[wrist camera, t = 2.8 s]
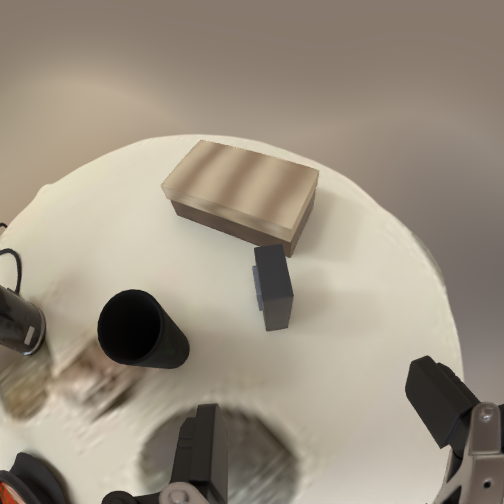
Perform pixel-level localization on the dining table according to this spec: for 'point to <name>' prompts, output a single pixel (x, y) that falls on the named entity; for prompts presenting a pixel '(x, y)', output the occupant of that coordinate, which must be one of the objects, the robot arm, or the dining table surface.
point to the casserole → (29, 483)
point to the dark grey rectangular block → (273, 286)
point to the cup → (140, 332)
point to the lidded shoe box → (243, 193)
